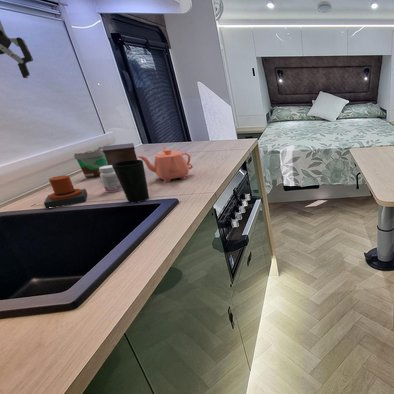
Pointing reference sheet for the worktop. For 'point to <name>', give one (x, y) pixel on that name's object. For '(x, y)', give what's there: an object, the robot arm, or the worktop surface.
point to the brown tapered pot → (119, 153)
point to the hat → (63, 188)
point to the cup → (132, 179)
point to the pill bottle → (109, 179)
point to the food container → (91, 162)
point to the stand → (66, 200)
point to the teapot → (169, 164)
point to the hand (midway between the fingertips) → (4, 78)
